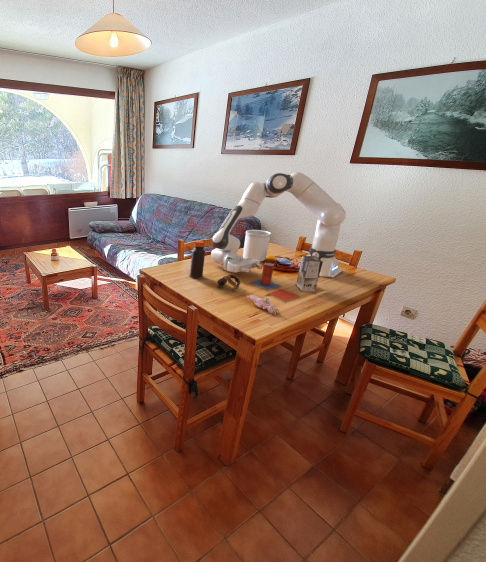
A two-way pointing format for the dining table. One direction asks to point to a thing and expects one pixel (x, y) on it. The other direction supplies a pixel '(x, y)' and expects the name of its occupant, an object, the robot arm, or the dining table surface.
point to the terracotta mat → (283, 295)
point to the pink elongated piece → (263, 304)
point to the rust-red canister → (267, 274)
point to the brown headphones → (229, 281)
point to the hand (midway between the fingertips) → (255, 269)
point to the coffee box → (309, 273)
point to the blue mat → (265, 286)
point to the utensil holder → (256, 244)
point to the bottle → (197, 260)
